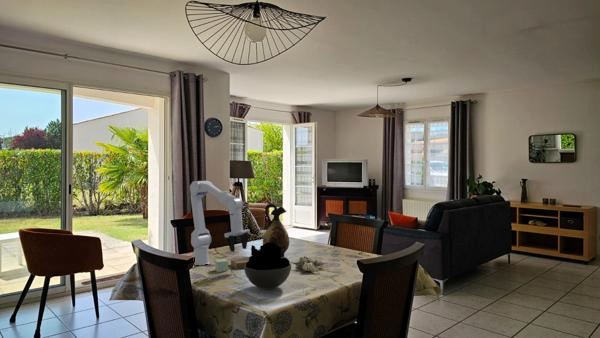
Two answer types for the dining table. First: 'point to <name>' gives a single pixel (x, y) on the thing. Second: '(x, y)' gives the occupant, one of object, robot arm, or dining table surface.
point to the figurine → (308, 264)
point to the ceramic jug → (276, 229)
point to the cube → (221, 265)
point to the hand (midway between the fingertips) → (238, 250)
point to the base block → (239, 262)
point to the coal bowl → (267, 266)
